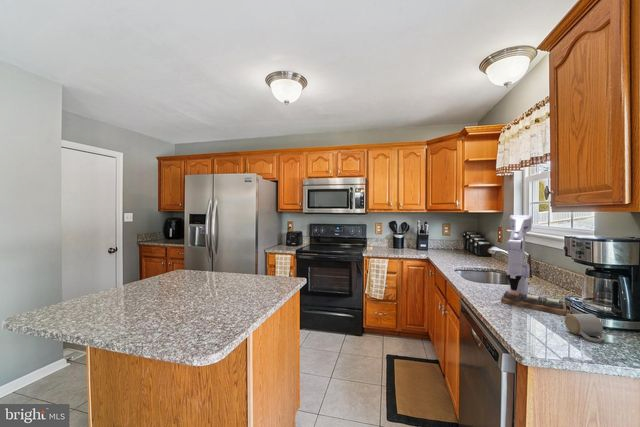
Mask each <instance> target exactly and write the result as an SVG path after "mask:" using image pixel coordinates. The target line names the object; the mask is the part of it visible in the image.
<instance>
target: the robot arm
mask: <svg viewBox="0 0 640 427" xmlns="http://www.w3.org/2000/svg"><path fill="white" fill-rule="evenodd" d="M509 224H510V225H509V227H510V229H511V230H512V231H511V232H510V236H509V239H508V240H507V242H506V244H507V245H506V247H507V268H506V269H507V270H504V273H506V274H507V277H506V278H507V279H508V281H509V291H512V292H518V293H521V294H523V295H524V294H525V295H527V294H529V295H531V294H530V292H529V281H528V279H530V273H531V272H530V271H531V269H530V268H531V266H530V264H529V263H528V262H526V260H524V259H525V244H526V235H527V233H528V232H531V231H532V224H533V216H532V215H531V214H530V215H528V214H527V215H525V214H511V215H510V216H509Z"/></svg>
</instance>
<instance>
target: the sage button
mask: <svg viewBox="0 0 640 427" xmlns="http://www.w3.org/2000/svg"><path fill="white" fill-rule="evenodd" d="M546 298H547V302H553V303H558V304H559V300H560V299H557V298H556V299H555V298H550V297H546Z"/></svg>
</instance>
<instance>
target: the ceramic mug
mask: <svg viewBox="0 0 640 427" xmlns="http://www.w3.org/2000/svg"><path fill="white" fill-rule="evenodd" d="M564 324H565V327H566V329H567V330H568V331H569V332H570V333H572V334H574V335H578V336H582V337H583V338H584V339H586V340H588V341H590V342H592V341H593V342H594V343H601V342H602V341H603V340H604V336H603V335H604V334H603V332H604V331H603V330H604V327H603V324H602V322H601V320H600V319H599V318H598V317H597V316H596V315H595V314H593V313H570V314H566V316H565V317H564ZM591 336H592V337H591ZM594 337H599V338H594ZM593 342H592V343H593Z"/></svg>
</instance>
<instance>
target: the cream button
mask: <svg viewBox="0 0 640 427" xmlns="http://www.w3.org/2000/svg"><path fill="white" fill-rule="evenodd" d="M539 297H540V296H539V295H533V294H527V298H531V299H537V300H539Z"/></svg>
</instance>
